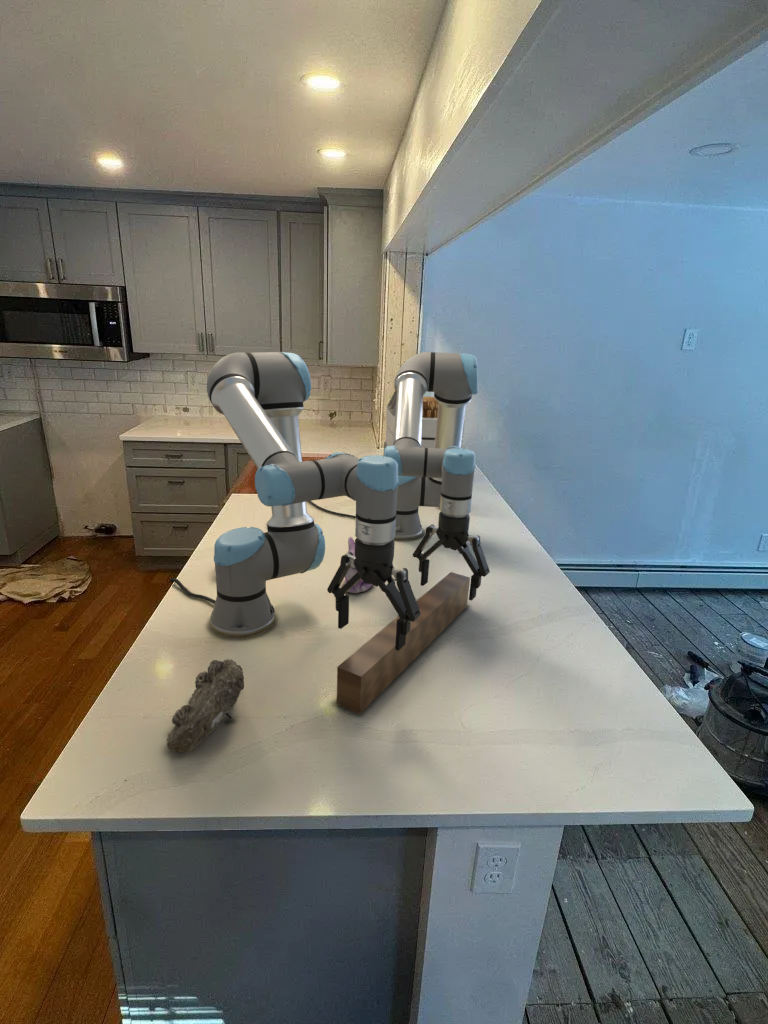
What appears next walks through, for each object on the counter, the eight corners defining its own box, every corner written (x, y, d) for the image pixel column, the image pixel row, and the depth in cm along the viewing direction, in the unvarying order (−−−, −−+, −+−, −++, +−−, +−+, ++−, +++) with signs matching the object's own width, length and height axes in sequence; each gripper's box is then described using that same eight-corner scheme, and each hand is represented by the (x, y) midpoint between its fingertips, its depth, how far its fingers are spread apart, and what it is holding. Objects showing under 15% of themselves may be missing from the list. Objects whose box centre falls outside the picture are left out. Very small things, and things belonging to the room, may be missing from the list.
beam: (448, 600, 156) (450, 571, 153) (467, 606, 153) (470, 577, 150) (336, 703, 113) (337, 666, 110) (359, 714, 111) (361, 676, 108)
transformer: (382, 463, 289) (386, 382, 275) (445, 464, 293) (451, 384, 279) (390, 482, 257) (394, 392, 243) (460, 483, 261) (468, 394, 247)
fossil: (192, 660, 117) (244, 628, 112) (224, 691, 120) (276, 661, 115) (142, 746, 98) (202, 712, 93) (182, 779, 101) (242, 748, 96)
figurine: (350, 597, 154) (351, 546, 149) (335, 581, 163) (336, 533, 158) (381, 591, 159) (383, 541, 153) (365, 576, 167) (367, 528, 162)
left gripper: (310, 529, 110) (310, 625, 117) (424, 562, 98) (416, 666, 105) (333, 518, 116) (331, 610, 123) (443, 548, 104) (434, 647, 111)
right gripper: (402, 506, 141) (398, 583, 148) (497, 528, 129) (488, 610, 136) (416, 499, 147) (412, 573, 154) (508, 519, 135) (499, 598, 142)
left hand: (370, 636), depth 114 cm, fingers open, 13 cm apart
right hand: (447, 591), depth 145 cm, fingers open, 13 cm apart
